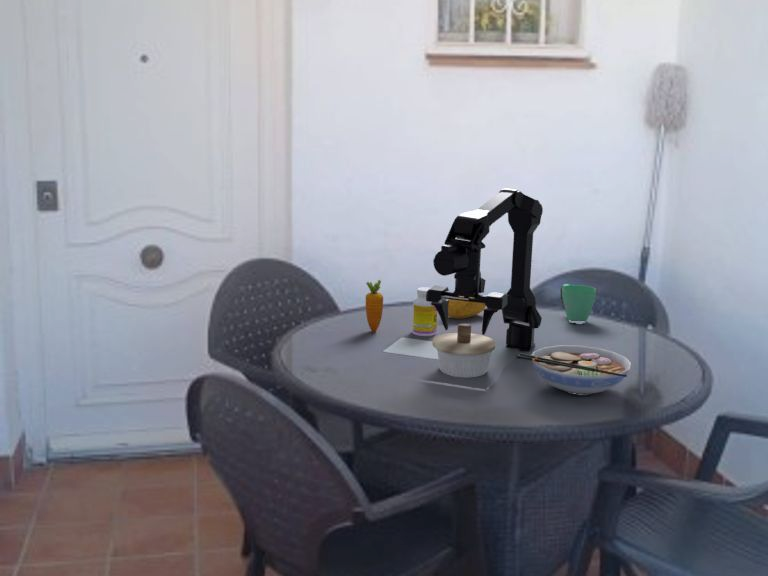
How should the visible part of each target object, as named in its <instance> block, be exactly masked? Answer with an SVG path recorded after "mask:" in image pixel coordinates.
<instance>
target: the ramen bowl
mask: <svg viewBox="0 0 768 576" xmlns="http://www.w3.org/2000/svg"><path fill="white" fill-rule="evenodd" d="M515 358H516V359H519V360H523V361H524V360H525V361H530V362H532V364H533V366H534V367H535V369H536V371H537V372H538V373H539V375H540V376H541V378H542V379H543V380H544V381H545V382H546V383H547V384H549V385H551V386H552V387H554V388H557V389H558V390H561V391H563V390H564V392H565V391H567V392H570V393H576V394H590V395H592V394H591V393H593V394H597V393H601V392H605V391H607V390H609V389H611V388H614V387H616V386H617V385H619V384H620V383H621V382H622V381H623V380H624V378H627V377H628V373H629V372H630V370H631V367H632V362H631V361H630V360H629V359H628V358H627V357H626V356H624V355H622V354H619V353H617V352H615V351H611V350H608V349H603V348H600V347H593V346H586V345H585V346H584V345H564V344H563V345H552V346H545V347H541V348H539V349H537V350H534V351H533V352H532V354H527V353H522V352H520V353H519V354H517V355H516V357H515ZM567 392H566V393H567ZM570 393H569V394H570Z"/></svg>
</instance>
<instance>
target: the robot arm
mask: <svg viewBox="0 0 768 576" xmlns="http://www.w3.org/2000/svg"><path fill="white" fill-rule="evenodd" d="M506 214H507V222H508V224H509V226H510V228H511V230H512V232H513V242H512V243H513V245H512V261H511V277H510V278H511V279H510V288H509V289H508V291H507V292H506V293H504V292H497V291H496V292H495V291H491V292H490V293H488V294H485V295H484V294H483V293H485V287H486V279H484V278H482V273H481V255H482V252H481V251H482V249H485V248H486V246H487V245H486V244H485V243H484V242H482V241H483V240H484V239H485V238H486V237H487V235H488V234H489V233H490V227H491V226H492V225H493V224H494V223H495V222H497V221H498V220H500V218H502V217H504V216H505V215H506ZM542 215H543V205H542V203H541V202H540V201H539V200H538V199H535V198H532V197H531V196H529V195H527V194H524V193H523V192H522V191H520V190H519V189H513V188H502V189H500V190H499V192H498V194H496V195H495V196H493V197H492V198H491V199H490V200H488V201H487V202H485V203H484V204H483V205H482V206H480V207H478V208H477V209H475V210H471V211H466V212H464V213H460V214H459V215H457V216H456V217H455V218H454V220H453V222H452V224H451V227H450V228H449V232H448V234H447V236H446V238H445V240H444V244H443V245H441V246H440V248H441V250H440V251H438V252H437V253H435V256H434V257H433V261H432V262H433V268H434V270H435V272H437V274H439V275H440V276H445V277H446V276H450V275H453V274H454V275H453V276H454V277H453V278H454V280H455V281H454V291H450V290H449V287H448V286H441V285H433V286H432V287H429V288H430V289H429V290H428V291H427V293H426V301H429V302H431V305H434V306H435V308H436V310H437V314H438V316H439V318H440V320H441V323H442V325H443V327H444V330H445V331H448V330H449V324H450V321H449V318H450V317H449V316H448V305H449V299H452V300H460V301H469V302H477V303H485V305H486V307H485V308H484V310H483V313H482V323H481V324H482V327H481V335H483V336H485V334H486V333H487V329H488V327H489V325H490V322H491V320H492V318H493V315H494V314H496V313H497V312H498V311H501V313H502V318H503V319H502V320H503V324H508V328H507V329H506V336H505V337H506V338H505V344H506V346H505V347H506V348H508V349H509V348H510V349H516V350H519V351H526V352H531V351H532V349H533V348H534V347H535V345H536V343H535V342H534V341H535V329H539V327H541V323H542V319H543V318H542V315H540V312H539V310H538V309H537V306H536V303H537V302H536V297H535V295H534V294H533V291H532V289H531V277H532V276H531V275H532V260H533V257H532V256H533V246H534V245H533V244H534V243H533V242H534V234H535V231H536V230H537V228H538V227H539V226H540V224H541V220H542ZM479 294H481V295H479ZM459 296H464V297H459ZM469 297H470V298H469ZM471 297H472V298H471ZM474 298H475V299H474Z"/></svg>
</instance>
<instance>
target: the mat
mask: <svg viewBox="0 0 768 576" xmlns="http://www.w3.org/2000/svg"><path fill="white" fill-rule="evenodd" d="M382 352H383V353H389V354H395V355H402V356H409V357H416V358H423V359H431V360H438V351H437V349H436V348H434V347H433V340H426V339H425V340H424V339H416V338H410V337H404V336H403V337H400V338H399V339H398V340H396V341H395V342H394V343H392V344H391V345H390V346H388V347H387V348H385V349H384V350H383V351H382ZM438 361H439V360H438Z"/></svg>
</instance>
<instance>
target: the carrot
mask: <svg viewBox="0 0 768 576" xmlns="http://www.w3.org/2000/svg"><path fill="white" fill-rule="evenodd" d="M381 282H382V280H381V279H378V280H377V282H375V283H374V284H373V282H372V281H370V282H369V281H366V285H367V287H368V289H369V290H370V292H368V293H367V294H366V295H365V314H366V321H367V323H368V327H369V330H370V331H371V332H372V333H376V332H377V331H378V328H379V327H380V324H381V321H382V316H383V308H384V296H383V294H381V292H378V291H379V290H380V288H381Z"/></svg>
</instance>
